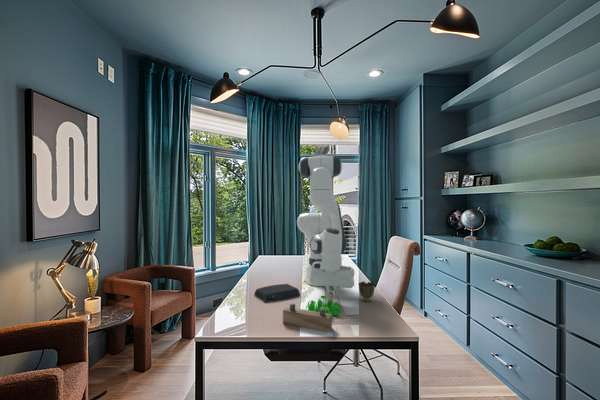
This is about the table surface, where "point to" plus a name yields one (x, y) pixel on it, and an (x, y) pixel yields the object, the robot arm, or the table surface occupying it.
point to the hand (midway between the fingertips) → (331, 295)
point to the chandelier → (327, 308)
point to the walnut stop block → (307, 318)
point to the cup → (366, 290)
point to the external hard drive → (276, 292)
